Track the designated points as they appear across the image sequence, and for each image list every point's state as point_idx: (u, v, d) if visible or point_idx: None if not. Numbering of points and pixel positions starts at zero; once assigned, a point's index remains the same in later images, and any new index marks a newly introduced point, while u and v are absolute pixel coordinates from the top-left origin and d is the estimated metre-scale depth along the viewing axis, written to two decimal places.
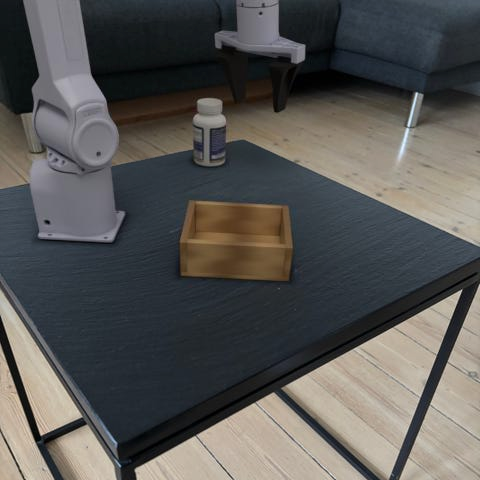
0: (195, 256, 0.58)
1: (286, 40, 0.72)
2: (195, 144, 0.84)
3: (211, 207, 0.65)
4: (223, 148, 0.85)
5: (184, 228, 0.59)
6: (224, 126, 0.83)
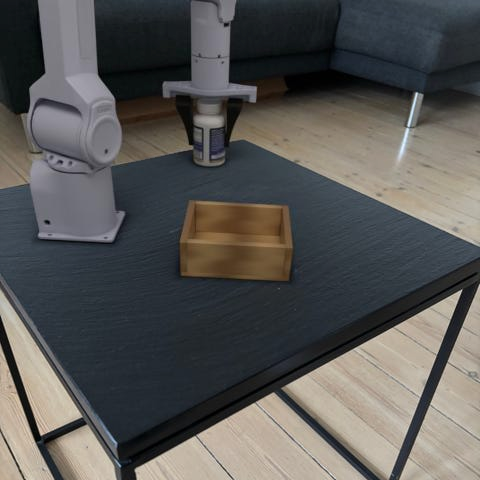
0: (195, 256, 0.58)
1: (233, 84, 0.81)
2: (195, 144, 0.84)
3: (211, 207, 0.65)
4: (223, 148, 0.85)
5: (184, 228, 0.59)
6: (224, 126, 0.83)
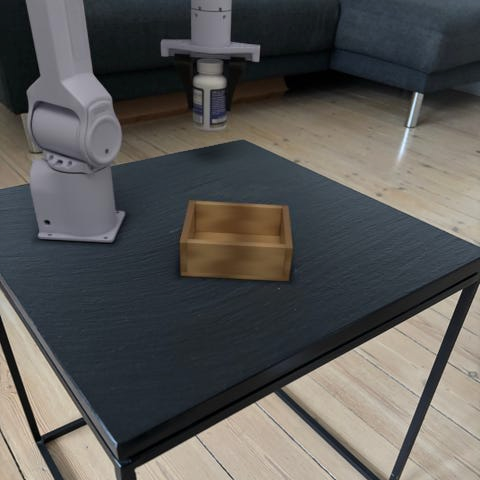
0: (195, 256, 0.58)
1: (235, 43, 0.77)
2: (195, 107, 0.80)
3: (211, 207, 0.65)
4: (224, 112, 0.81)
5: (184, 228, 0.59)
6: (225, 88, 0.79)
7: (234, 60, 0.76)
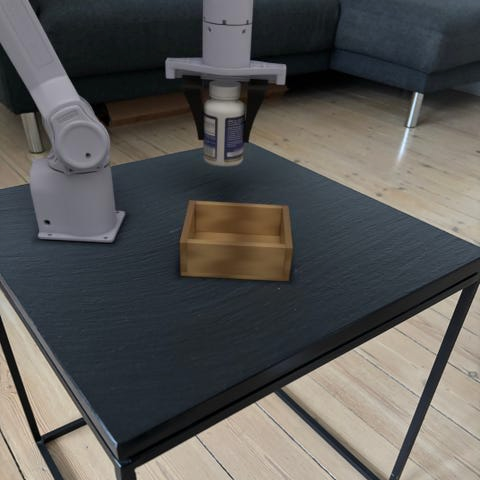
0: (195, 256, 0.58)
1: (256, 62, 0.64)
2: (206, 138, 0.67)
3: (211, 207, 0.65)
4: (241, 143, 0.67)
5: (184, 228, 0.59)
6: (243, 115, 0.65)
7: (254, 83, 0.63)
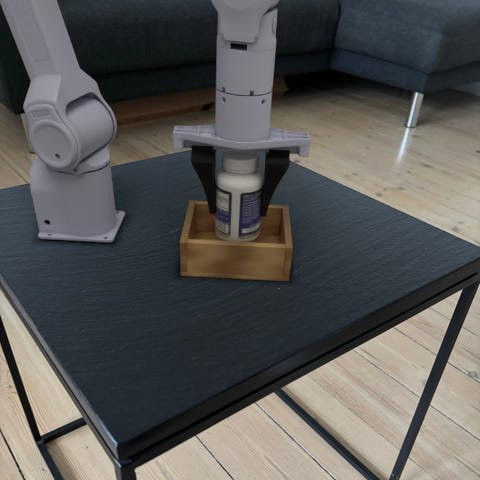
0: (195, 256, 0.58)
1: (275, 130, 0.56)
2: (218, 213, 0.59)
3: None
4: (258, 218, 0.60)
5: (184, 228, 0.59)
6: (261, 188, 0.57)
7: (274, 154, 0.55)
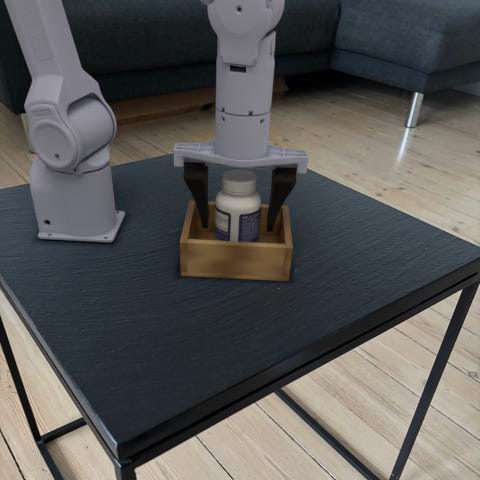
0: (195, 256, 0.58)
1: (274, 147, 0.57)
2: (218, 232, 0.60)
3: (211, 207, 0.65)
4: (256, 237, 0.61)
5: (184, 228, 0.59)
6: (259, 209, 0.59)
7: (281, 172, 0.56)
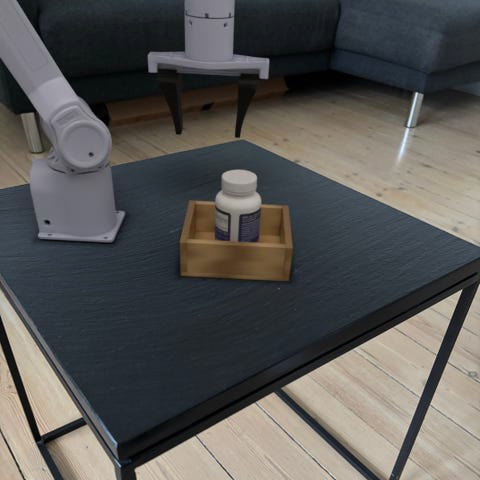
0: (195, 256, 0.58)
1: (239, 56, 0.63)
2: (218, 232, 0.60)
3: (211, 207, 0.65)
4: (256, 237, 0.61)
5: (184, 228, 0.59)
6: (259, 209, 0.59)
7: (245, 77, 0.63)
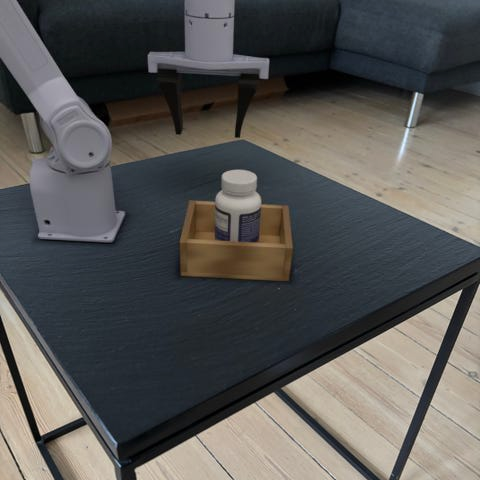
0: (195, 256, 0.58)
1: (239, 56, 0.64)
2: (218, 232, 0.60)
3: (211, 207, 0.65)
4: (256, 237, 0.61)
5: (184, 228, 0.59)
6: (259, 209, 0.59)
7: (245, 77, 0.63)
